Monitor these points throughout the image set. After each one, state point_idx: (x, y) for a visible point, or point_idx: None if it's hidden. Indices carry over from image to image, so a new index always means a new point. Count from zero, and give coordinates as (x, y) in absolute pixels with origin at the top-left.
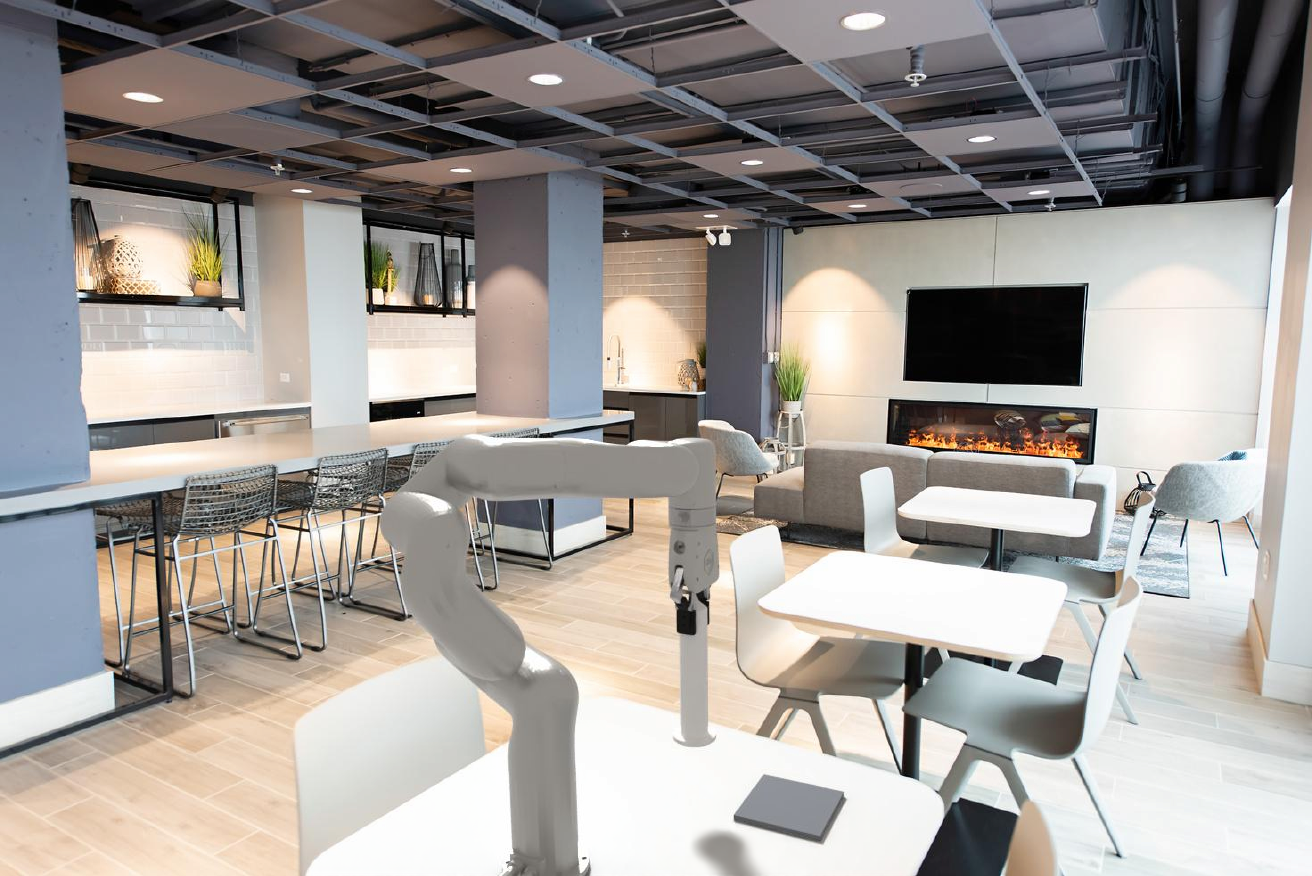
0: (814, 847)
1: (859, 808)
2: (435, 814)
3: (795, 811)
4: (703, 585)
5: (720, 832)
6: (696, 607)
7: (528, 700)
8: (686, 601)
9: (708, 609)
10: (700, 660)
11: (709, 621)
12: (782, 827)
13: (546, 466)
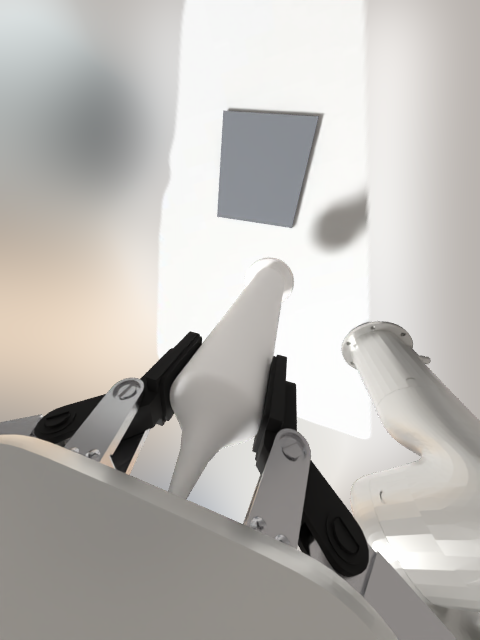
0: (330, 123)
1: (243, 83)
2: (315, 410)
3: (274, 162)
4: (240, 612)
5: (313, 234)
6: (237, 415)
7: None
8: (320, 511)
9: (172, 359)
10: (269, 311)
11: (187, 334)
12: (305, 170)
13: None
